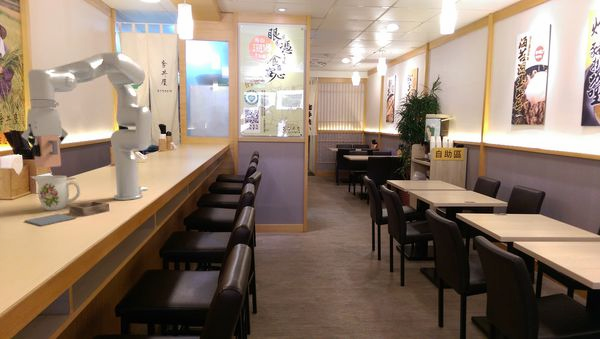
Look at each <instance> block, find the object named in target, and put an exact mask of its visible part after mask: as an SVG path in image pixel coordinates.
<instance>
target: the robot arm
mask: <svg viewBox="0 0 600 339" xmlns="http://www.w3.org/2000/svg"><path fill="white" fill-rule="evenodd" d="M105 75H107V79H108V81H109V82H110V83H111V85H112V86H113V88H114V89H115V91H116V94H117V104H116V117H115V118H116V123H117V124H118V125H119V126H120V127H126V129H124V128H123V129H116V130H115V131H113V133H111V136H110V144H111V147H112V151H113V157H114V168H115V170H114V171H115V182H116V183H115V185H116V194H115V195H114V196H113V199H114V200H117V201H127V200H128V201H130V200H137V199H140V198H143V196H144V194H143V192H147V191H148V190H149V188H148V186H144V187H142V186H140V182H139V171H138V169H139V168H138V158H137V154H136V153H135V152H134V151H146V150H148V148H149V147H150V144H151V139H152V138H151V137H152V128H153V115H152V111H151V110H150V108H148V107H147V106H145V105H138V93H137V91H136V90H135V89H134V87H133V85H134V86H136V85H141V84H142V83H143V82H144V81H145V79H146V73H145V70H144V69H143V67H142V66H141V65H140V64H138V63H137V62H136V61H134V60H133V59H132V58H130V57H129V56H128V55H126V54H125V53H121V52H119V51H118V52H117V51H112V52H111V51H110V52H101V53H98V54H94V55H91V56H89V57H86V58H83V59H81V60H78V61H73V62H70V63H66V64H63V65H59V66H55V67H51V68H49V69H40V68H39V69H37V68H36V69H31V70H28V73H27V76H28V78H27V79H28V88H29V89H28V90H29V100H30V108H28V110H27V114H26V115H27V117H26V129H25V131H23V133H21V138H23V139H24V140H25V141H27V142H28V143H29V144H30V145H31V146H32V154H33V155H34V156H38V157H39V156H41V153H40V145H38V143H39V137H40V136H59V144H60V145H61V144H62V142H63V141H64V140H65V138H67V136H68V135H69V133H68V132H67V131H66V130H65V129H64V128H63V127H62V122H61V117H60V114H59V110H58V109H57V107H59V105H60V104H59V102H57V101H56V98H55V97H56V96H55V93H69V92H71V91H73V90H75V88H76V87H77V84H83V83H88V82H91V81H94V80H96V79H99V78H100V77H102V76H105ZM132 127H133V128H134V127H135V129H129V128H132Z"/></svg>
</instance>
